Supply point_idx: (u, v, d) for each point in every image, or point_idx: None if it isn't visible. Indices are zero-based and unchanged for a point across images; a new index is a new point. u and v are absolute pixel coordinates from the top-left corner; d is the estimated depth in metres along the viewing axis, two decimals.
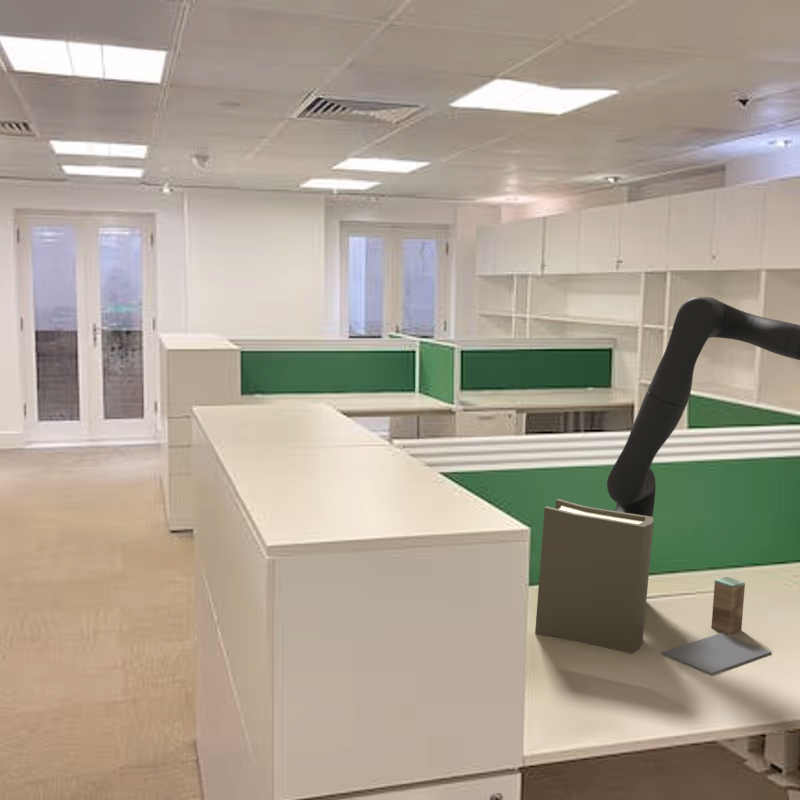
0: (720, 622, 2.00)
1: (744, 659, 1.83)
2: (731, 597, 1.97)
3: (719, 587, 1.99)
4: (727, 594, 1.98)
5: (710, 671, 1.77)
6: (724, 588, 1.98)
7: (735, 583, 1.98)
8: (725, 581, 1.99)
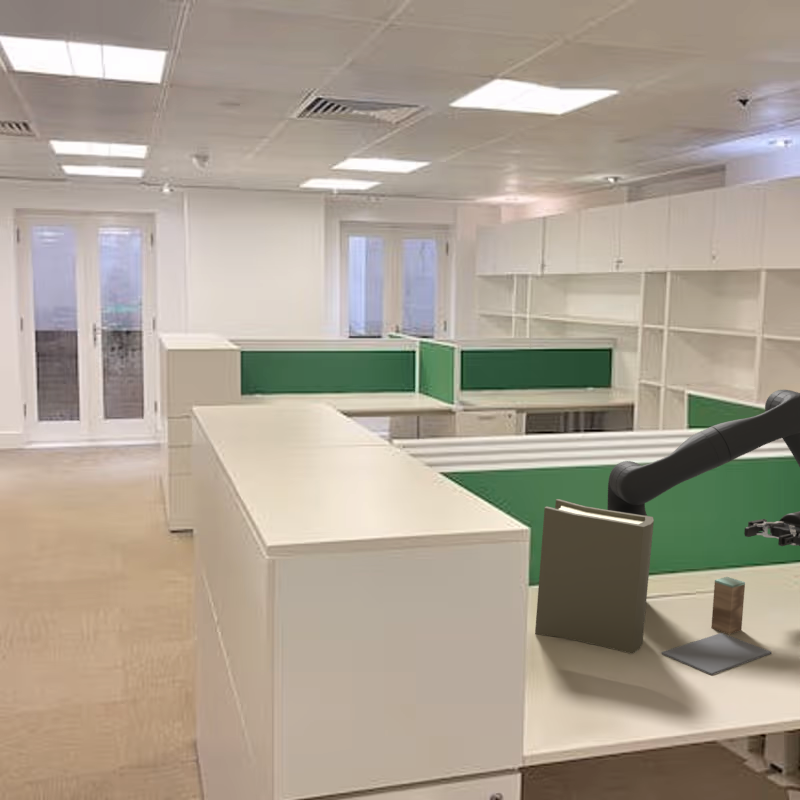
0: (720, 622, 2.00)
1: (744, 659, 1.83)
2: (731, 597, 1.97)
3: (719, 587, 1.99)
4: (727, 594, 1.98)
5: (710, 671, 1.77)
6: (724, 588, 1.98)
7: (735, 583, 1.98)
8: (725, 581, 1.99)
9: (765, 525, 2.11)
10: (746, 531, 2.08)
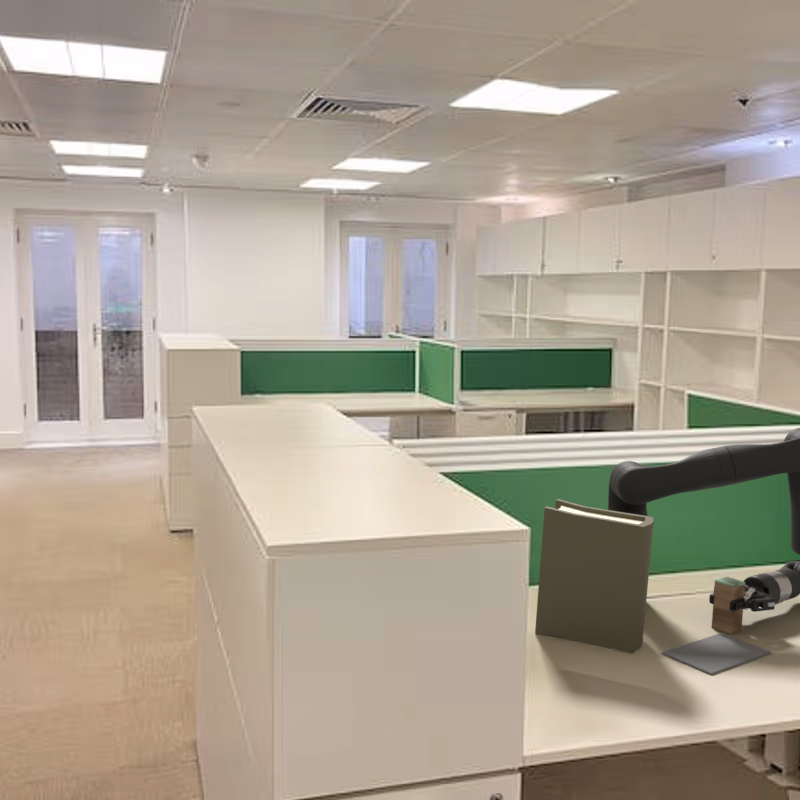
0: (720, 621, 2.00)
1: (744, 659, 1.83)
2: (731, 597, 1.97)
3: (719, 587, 1.99)
4: (727, 594, 1.98)
5: (710, 671, 1.77)
6: (724, 588, 1.98)
7: (735, 583, 1.98)
8: (725, 581, 1.99)
9: None
10: (711, 598, 2.01)
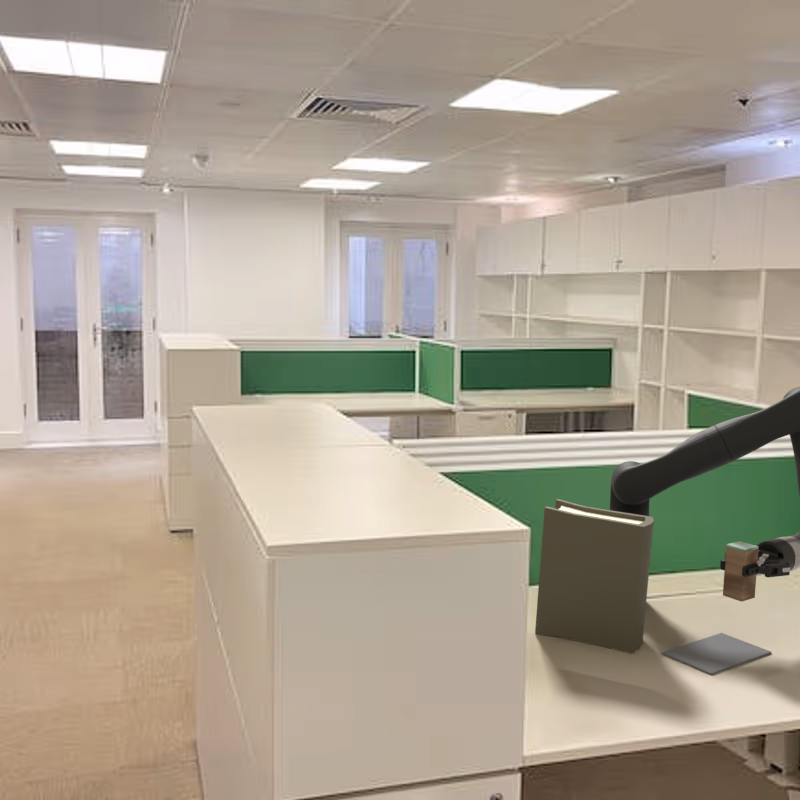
0: (732, 588, 1.88)
1: (744, 659, 1.83)
2: (744, 562, 1.85)
3: (731, 552, 1.88)
4: (739, 559, 1.86)
5: (710, 671, 1.77)
6: (736, 553, 1.87)
7: (748, 547, 1.86)
8: (737, 545, 1.88)
9: None
10: (722, 564, 1.89)
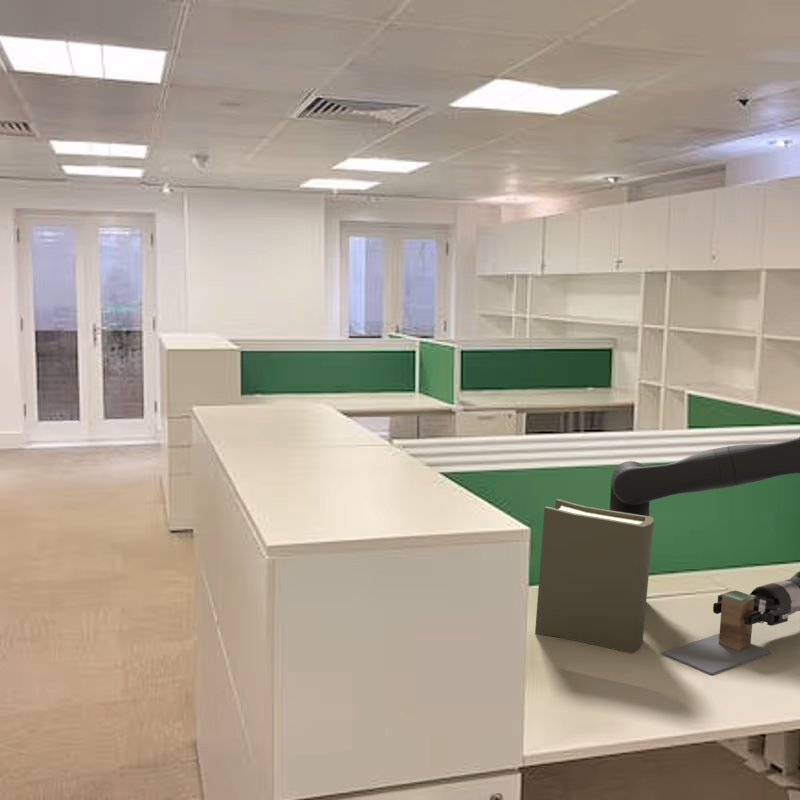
0: (728, 638, 1.89)
1: (744, 659, 1.83)
2: (740, 612, 1.87)
3: (727, 601, 1.89)
4: (735, 609, 1.87)
5: (710, 671, 1.77)
6: (732, 603, 1.88)
7: (744, 597, 1.88)
8: (733, 595, 1.89)
9: None
10: (715, 607, 1.91)
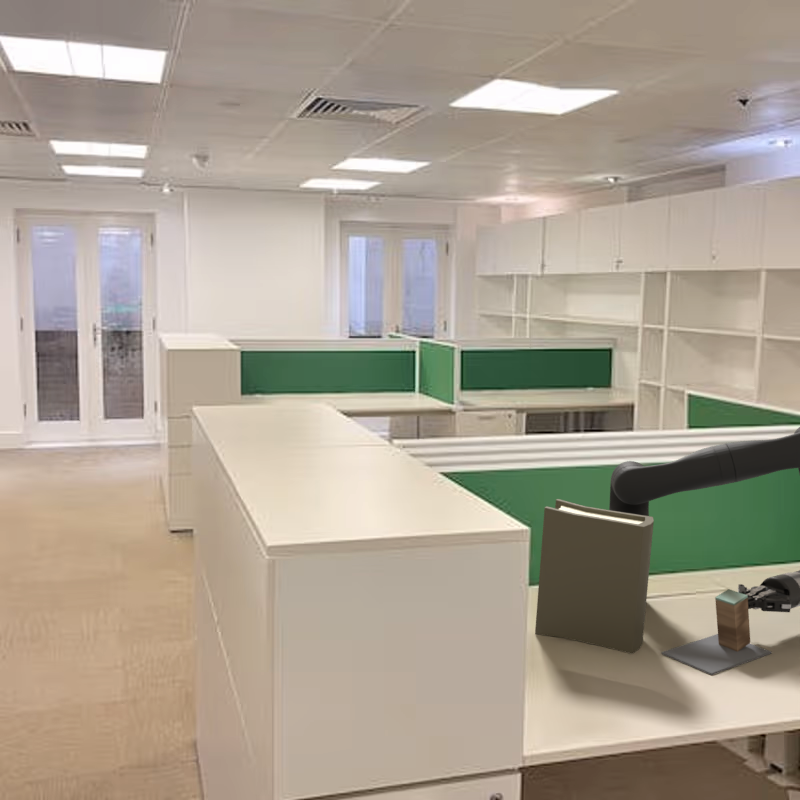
0: (727, 639, 1.89)
1: (744, 659, 1.83)
2: (734, 615, 1.86)
3: (721, 604, 1.88)
4: (729, 612, 1.86)
5: (710, 671, 1.77)
6: (726, 606, 1.87)
7: (737, 599, 1.86)
8: (726, 597, 1.88)
9: (755, 594, 1.94)
10: None
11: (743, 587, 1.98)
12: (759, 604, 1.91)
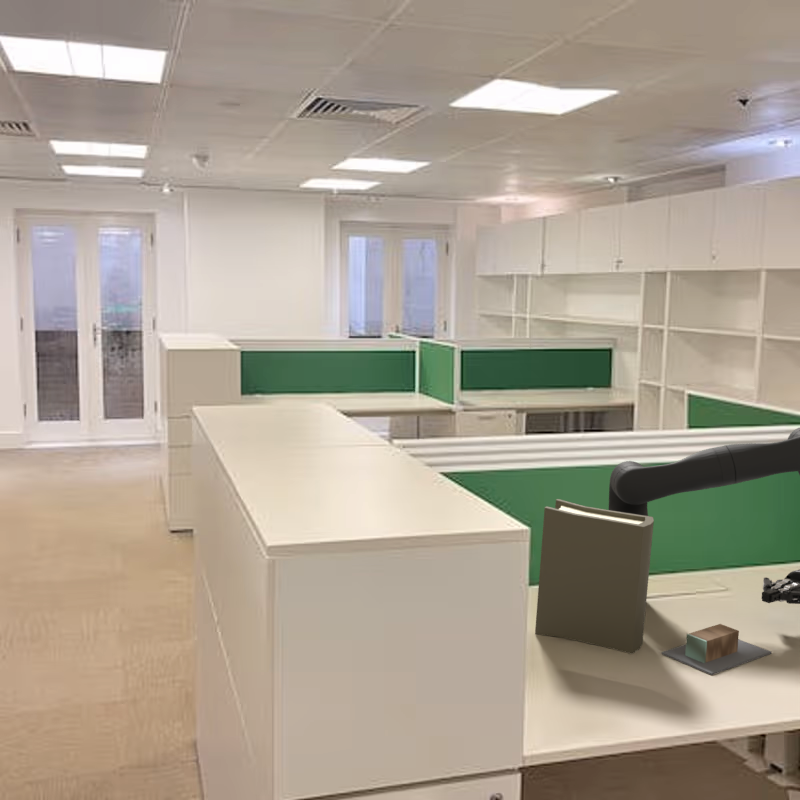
0: None
1: (744, 659, 1.83)
2: (711, 659, 1.83)
3: None
4: None
5: (710, 671, 1.77)
6: None
7: (702, 653, 1.82)
8: (693, 653, 1.83)
9: (781, 587, 1.99)
10: (764, 596, 1.95)
11: (768, 580, 2.03)
12: (785, 597, 1.96)
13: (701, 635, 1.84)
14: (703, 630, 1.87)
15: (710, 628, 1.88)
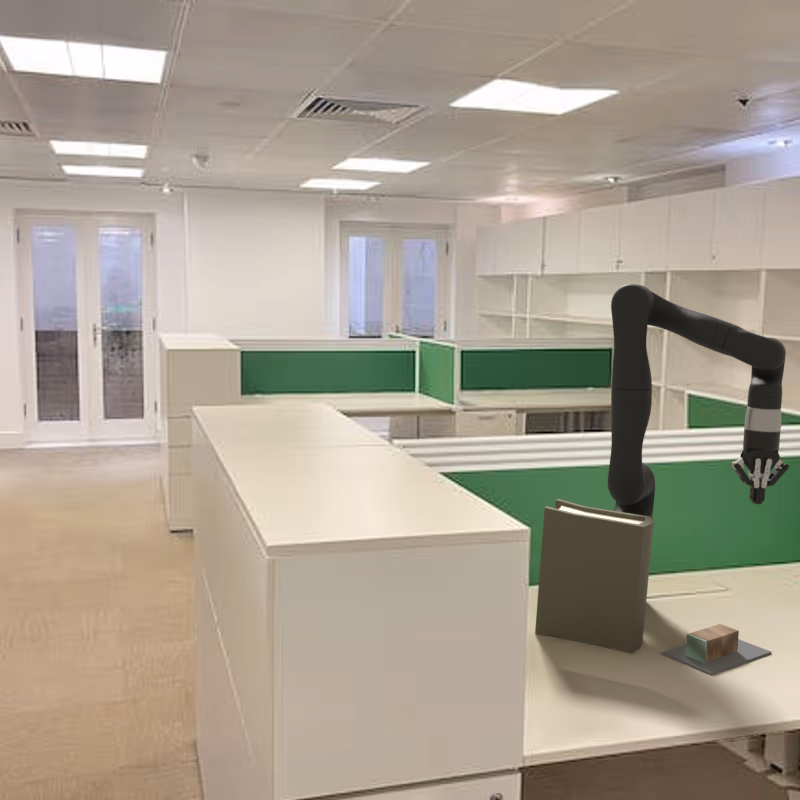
0: None
1: (744, 659, 1.83)
2: (711, 659, 1.83)
3: None
4: None
5: (710, 671, 1.77)
6: None
7: (702, 653, 1.82)
8: (693, 653, 1.83)
9: None
10: None
11: None
12: None
13: (701, 635, 1.84)
14: (703, 630, 1.87)
15: (710, 628, 1.88)
